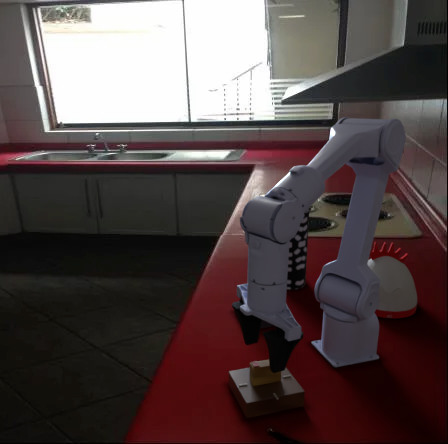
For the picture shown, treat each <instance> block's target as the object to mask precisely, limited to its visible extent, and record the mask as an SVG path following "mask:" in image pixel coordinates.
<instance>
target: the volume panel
mask: <svg viewBox="0 0 448 444" xmlns="http://www.w3.org/2000/svg"><path fill="white" fill-rule="evenodd" d="M249 378H250V366H249V367H245V368H240V369H234V370H229V371H228V387H229V389H230V391H231V392H232V394H233V396H234V399H235V400H236V402H237V404H238V405H239V407H240V409H241V411H242V413H243V415H244V416H245V418H246V419H250V418H255V417H260V416H265V415H270V414H275V413H279V412H284V411H288V410H293V409H298V408H302V407H304V406H305V394H306V391H305V390H304V388H303V387H302V385H301V384H300V383H299V382H298V381H297V379H296V378H295V376H294V375H293V374H292V373H291V372H290V370H289V369H288V368H287V367H286V368H285V370H284V371H281V381H278V382H272V383H267V384H262V385H257V386H253V385H252V384H251V382H250V380H249Z"/></svg>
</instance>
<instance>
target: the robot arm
mask: <svg viewBox="0 0 448 444" xmlns="http://www.w3.org/2000/svg"><path fill="white" fill-rule="evenodd" d="M328 139H329V140H328V141H327V142H326V143H325V144H324V145H323V147H322V148H321V149H320V150H319V151H318V153H317V154H316V155H315V156H314V157H313V158H312V159H311V161H310V162H309V163H308V164H307V165H304V164H301V165H294V166H293V167H292V168H290V169H289V172H287V174H286V175H284V176H283V178H282V179H280V181H278V182H277V183H276V184H275V185H274V186H273V187H272V188H271V189H270V190H269V191H268V192H267V193H266V194H264V195H258V196H255V197H253V198H252V199H251V198H250V200H249V201H248V202H247V203H245V205H244V207H243V209H242V213H241V216H240V217H239V224H240V227H241V229H242V231H243V232H244V243H246V245H247V279H246V280H247V282H246V283H242V284H237V285H236V296H237V297H238V298H239V300H238V301H234V302H232V304H231V308H232V310H233V311H235V312H234V314H235V313H236V314H235V315H236V317H237V319H238V322H239V325H240V329H241V333H242V334H241V335H242V338H243V342H244V345H246V346H251V345H255V344H258V343H259V339H260V334H261V328H260V326H261V321H262V320H264V321H266V322H268V323H271V324H273V325H275V326H274V327H275V329H270V330H267V331H262V336H263V338H264V340H265V343H266V346H267V350H268V359H269V365H270V370H271V371H272V372H273V373H277V372H281V371H284V370H285V368H287V365H288V363H289V360H290V357H291V355H292V353H293V352H294V350H295V348H296V347H297V345H299V343H300V342H301V341H302V340H303V339H304V336H305V335H304V333H305V332H304V331H303V330H302V327H303V326H301V325H300V324H299V322H298V321H297V320H296V319H295V317H294V315H293V313H292V311H291V309H290V307H289V306H288V304H287V291H288V289H287V274H288V257H289V241H290V240H291V239H292V238H294V237H295V235H296V233H297V231H298V229H299V226H300V223H301V221H302V220H303V217H304V216H305V215H304V213H305V212H306V211H307V210H308V208H309V209H310V208H311V207H312V206H313V204H315V202H316V201H318V200H319V198H320V197H321V196H323V194H324V193H325V191H326V183H325V182H326V181H327V180H328V179H329V178H330V177H332V176H333V175H334V174H335V173H336V172H338V171H339V170H340V169H342V168H343V166H345V165H346V166H347V167H348V166H349V167H350V168H352V171H353V172H354V174H355V179H354V184H353V187H352V193H351V197H350V202H349V206H348V209H347V214H346V219H345V223H344V228H343V232H342V236H341V241H340V245H339V249H338V253H337V258H336V259H335V260H333V261H330V262H328V263H326V264H324V265H322V269H321V272H320V275H319V277H318V278H317V280H316V282H315V285H314V289H313V291H314V297H315V300H316V301H317V302H319V303H320V304H319V307H320V309H321V310H323V313H322V325H321V338H320V339H318V340H313V341H311V345H312V346H313V347H314V348H315V350H317V351H318V352H319V353H320V355H321V356H322V357H323V358H324V359H325V360H326V361H327V362H328V363H329V364H330V365H331V366H332V367H333V368H340V367H345V366H349V365H351V366H352V365H357V364H361V363H365V362H371V361H376V360H379V359H380V356H379V355H378V354H377V350H378V343H379V335H380V322H379V318H378V316H376V314H375V311H376V309H377V306H378V303H379V287H380V279H379V278H378V277H377V276H376V274H375V273H374V272H373V271H372V270H371V269H370V268H369V266H368V265H367V263H368V260H370V251H372V247H373V244H374V243H373V242H374V240H375V239H374V238H375V234H376V230H377V225H378V221H379V218H380V213H381V210H382V207H383V206H382V205H383V201H384V197H385V194H386V193H385V192H386V189H387V186H388V185H387V184H388V181H389V176H390V174H392V173H394V172H395V173H396V172H397V171H398V170H399V167H400V163H401V161H402V156H403V152H404V148H405V145H406V141H407V135H406V130H405V127H404V125H403V122H402V121H401V120H400V119H399V118H390V119H389V118H388V119H386V118H383V119H382V118H353V117H352V118H351V117H345V116H344V117H341V118H339V120H337V122H336V123H335V124H334V125H332V126H331V128H330V132H329V138H328Z"/></svg>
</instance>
